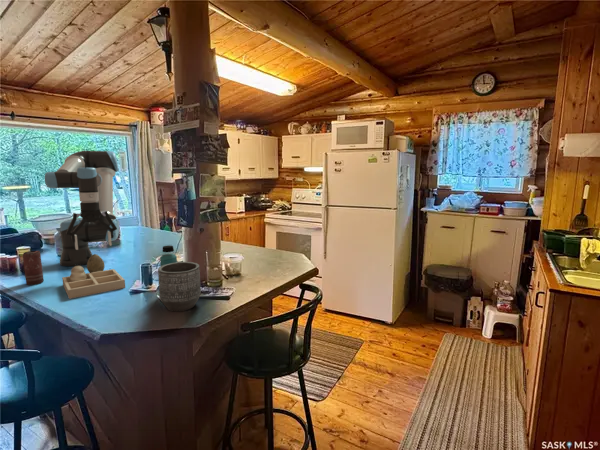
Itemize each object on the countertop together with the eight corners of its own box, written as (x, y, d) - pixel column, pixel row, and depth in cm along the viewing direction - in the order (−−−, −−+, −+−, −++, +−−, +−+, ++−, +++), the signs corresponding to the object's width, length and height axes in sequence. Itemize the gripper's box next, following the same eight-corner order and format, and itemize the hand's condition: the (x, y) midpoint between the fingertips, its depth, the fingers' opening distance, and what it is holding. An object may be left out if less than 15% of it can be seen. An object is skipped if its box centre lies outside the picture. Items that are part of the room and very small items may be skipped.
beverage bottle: (164, 291, 142) (161, 244, 139) (181, 291, 142) (178, 243, 139) (159, 297, 136) (156, 247, 132) (176, 297, 136) (174, 247, 133)
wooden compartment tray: (63, 285, 149) (62, 277, 149) (114, 276, 162) (113, 268, 161) (69, 298, 134) (68, 290, 134) (125, 287, 147) (124, 279, 146)
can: (47, 281, 154) (44, 250, 152) (32, 286, 148) (28, 254, 146) (38, 280, 156) (34, 249, 154) (23, 284, 150) (18, 253, 148)
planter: (191, 296, 138) (189, 259, 135) (207, 306, 127) (206, 267, 125) (154, 305, 128) (152, 266, 126) (169, 317, 118) (166, 275, 115)
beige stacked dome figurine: (69, 283, 149) (67, 265, 148) (85, 280, 153) (84, 263, 151) (71, 287, 144) (69, 268, 143) (88, 284, 148) (86, 266, 147)
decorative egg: (87, 277, 159) (85, 256, 158) (88, 273, 166) (86, 253, 164) (105, 275, 163) (103, 255, 161) (105, 271, 169) (103, 251, 167)
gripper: (57, 204, 148) (62, 252, 151) (121, 200, 163) (125, 244, 167) (55, 202, 153) (60, 249, 157) (117, 199, 169) (121, 242, 173)
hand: (93, 247), depth 162 cm, fingers open, 13 cm apart
